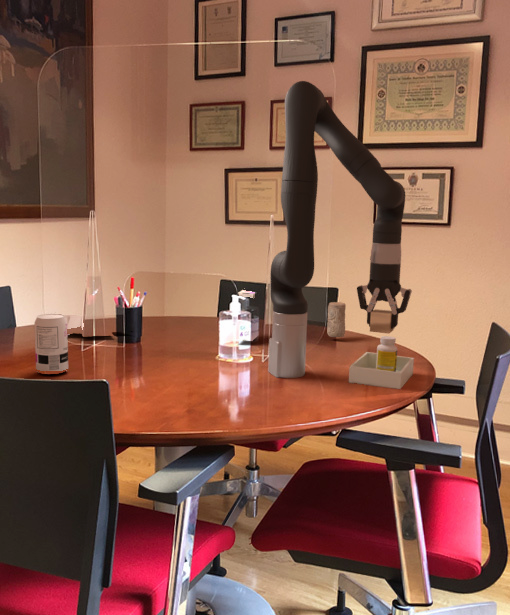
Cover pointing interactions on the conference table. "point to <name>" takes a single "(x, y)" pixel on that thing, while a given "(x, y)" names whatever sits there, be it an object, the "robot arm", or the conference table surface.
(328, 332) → the carving
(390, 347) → the supplement bottle
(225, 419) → the conference table surface
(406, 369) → the box
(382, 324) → the birch cube
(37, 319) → the supplement can
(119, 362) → the conference table surface
